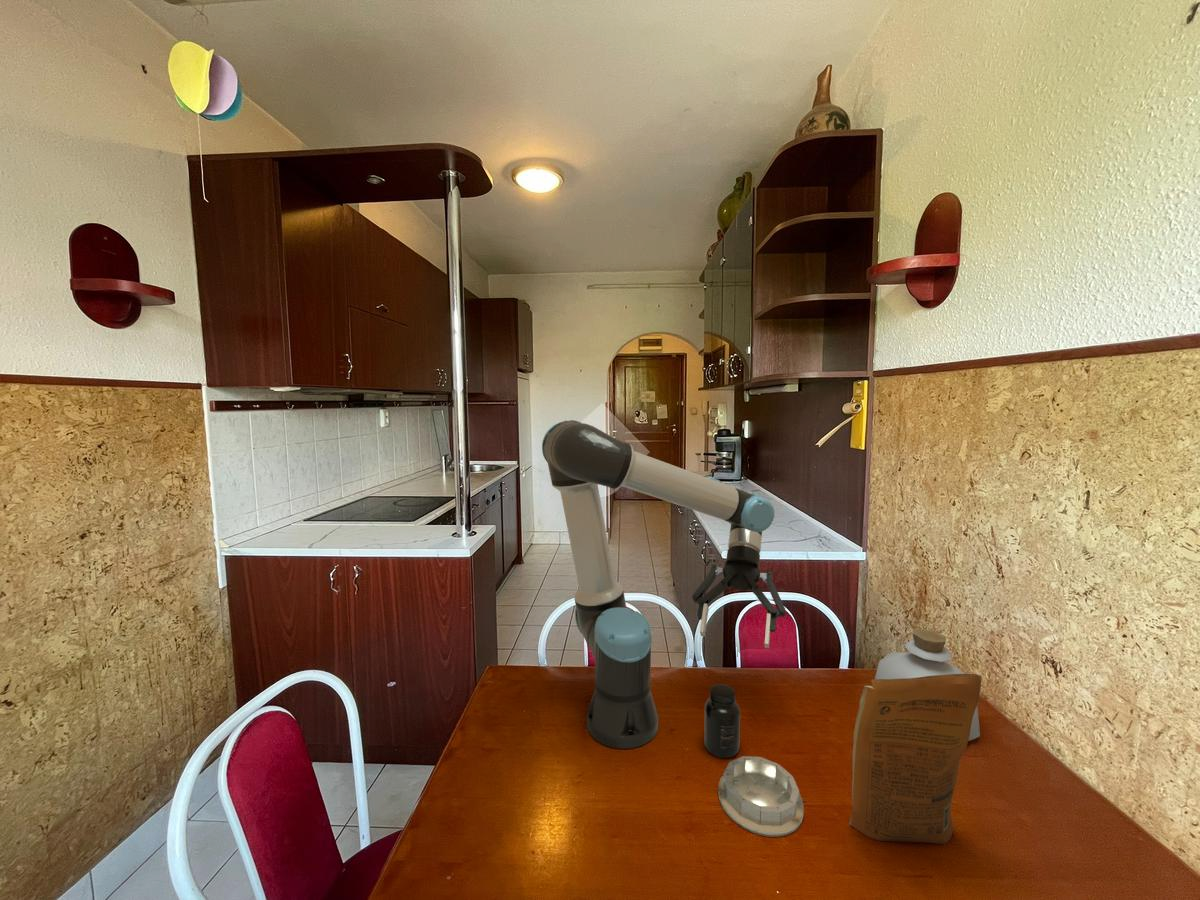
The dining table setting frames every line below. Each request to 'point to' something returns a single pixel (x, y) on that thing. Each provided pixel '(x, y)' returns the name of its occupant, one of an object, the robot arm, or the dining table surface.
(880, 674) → the bottle
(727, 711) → the supplement bottle
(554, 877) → the dining table surface
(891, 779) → the pancake mix bag
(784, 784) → the silver bowl
